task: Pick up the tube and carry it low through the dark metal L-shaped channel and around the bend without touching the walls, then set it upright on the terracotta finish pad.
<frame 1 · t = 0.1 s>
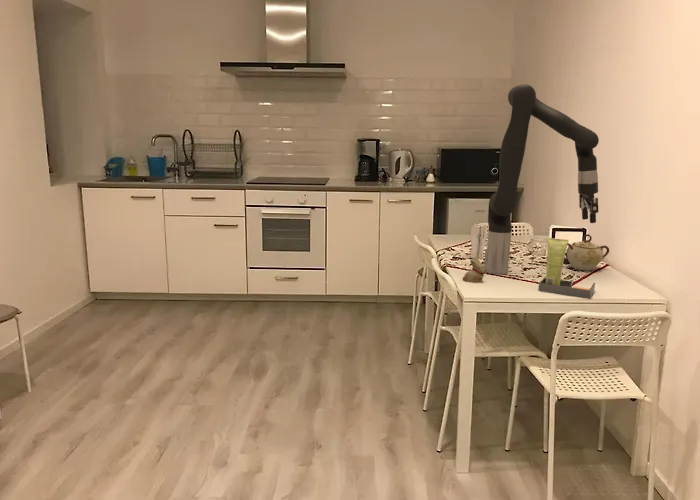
hand: (589, 221, 244), 22 cm above the table, tool pointing down, fingers open, 8 cm apart
tube: (552, 290, 225), resting in channel
sugar bowl: (582, 268, 259), on the table
finish pad: (581, 290, 225), on the table
channel: (566, 290, 224), on the table
chocolate bunny: (473, 281, 234), on the table
beer glass: (476, 257, 274), on the table
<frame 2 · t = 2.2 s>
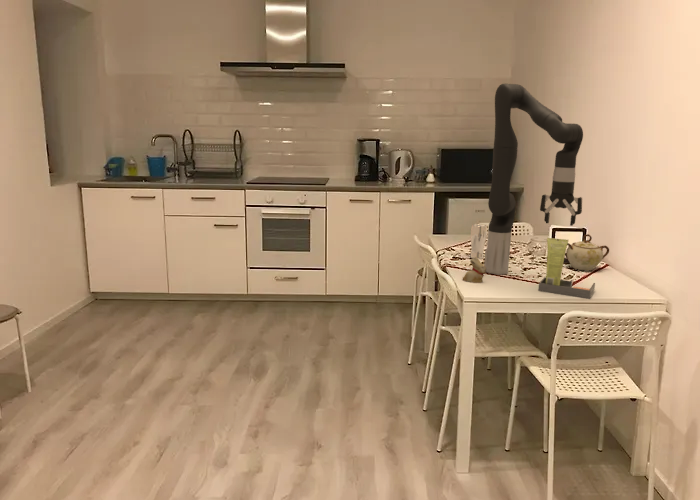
hand: (559, 224, 220), 25 cm above the table, tool pointing down, fingers open, 8 cm apart
nothing on the table moved.
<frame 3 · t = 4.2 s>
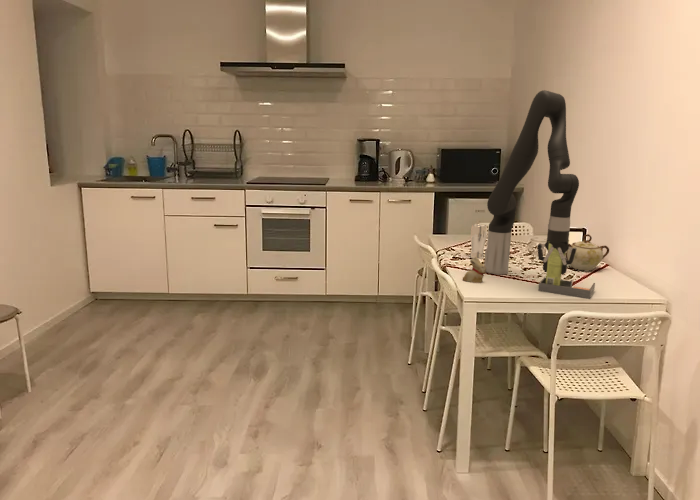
hand: (554, 272, 224), 7 cm above the table, tool pointing down, fingers closed on tube, 5 cm apart
tube: (552, 290, 225), resting in channel, touching gripper
everything else where it was.
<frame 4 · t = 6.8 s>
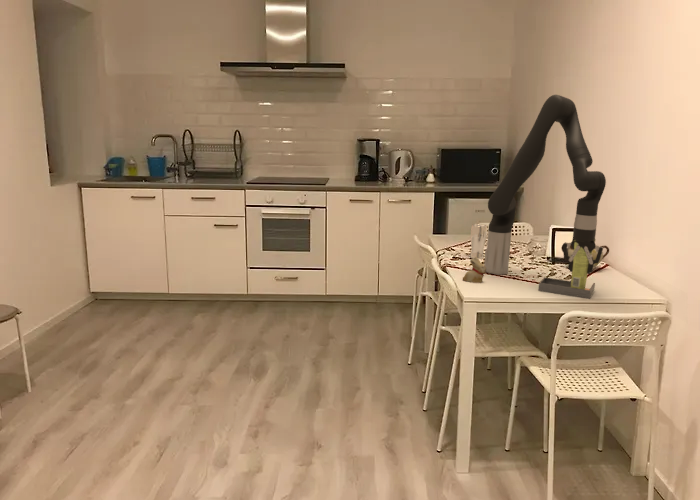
hand: (580, 272, 219), 8 cm above the table, tool pointing down, fingers closed on tube, 5 cm apart
tube: (578, 289, 221), point 1 cm above the table, touching gripper
everything else where it was.
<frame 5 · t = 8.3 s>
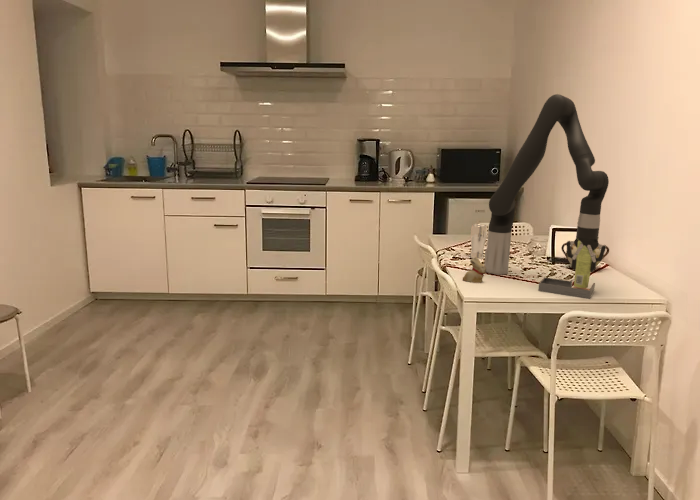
hand: (583, 270, 223), 8 cm above the table, tool pointing down, fingers closed on tube, 5 cm apart
tube: (581, 287, 225), point 1 cm above the table, touching gripper
everything else where it was.
when the fingers open (8 cm above the table, at t = 9.2 s): tube stays where it is, resting on finish pad.
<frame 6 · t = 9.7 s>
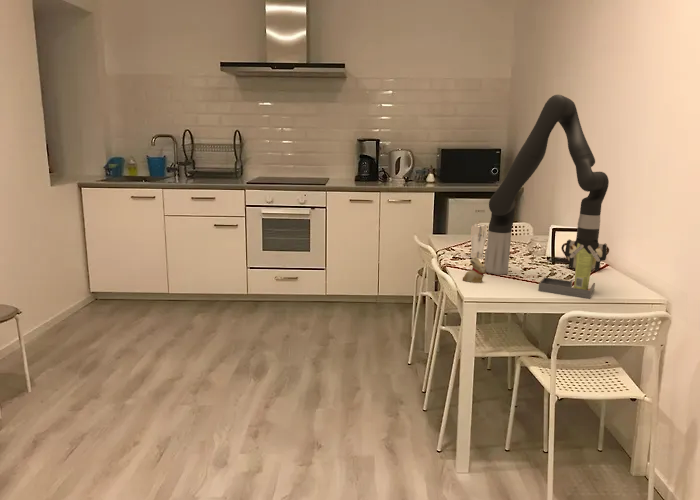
hand: (583, 269, 223), 8 cm above the table, tool pointing down, fingers open, 8 cm apart
tube: (581, 289, 225), resting on finish pad
everything else where it was.
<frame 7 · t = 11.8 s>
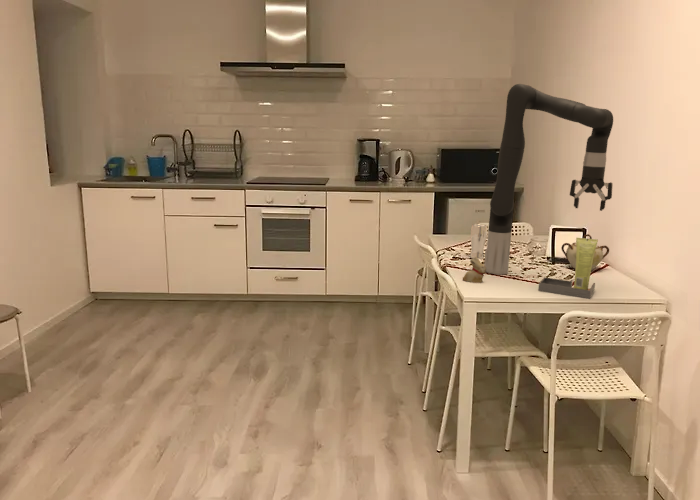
hand: (588, 209, 221), 30 cm above the table, tool pointing down, fingers open, 8 cm apart
nothing on the table moved.
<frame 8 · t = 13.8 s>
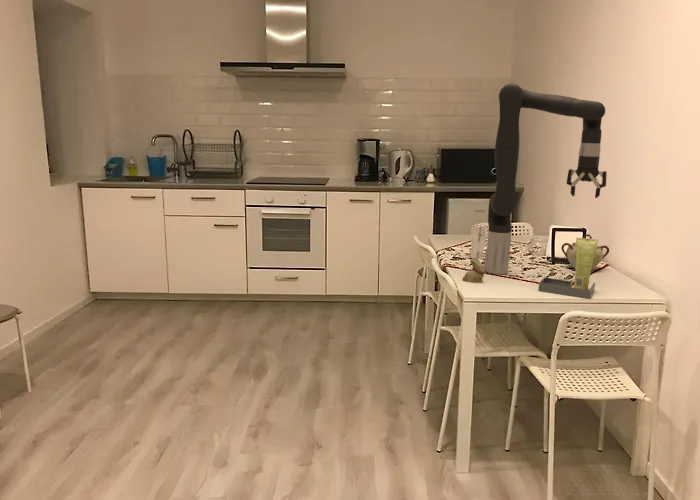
hand: (584, 196, 235), 33 cm above the table, tool pointing down, fingers open, 8 cm apart
nothing on the table moved.
at the end: tube 0.1 cm from the target spot, resting on finish pad; tube tilted 0°; tube touching finish pad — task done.
